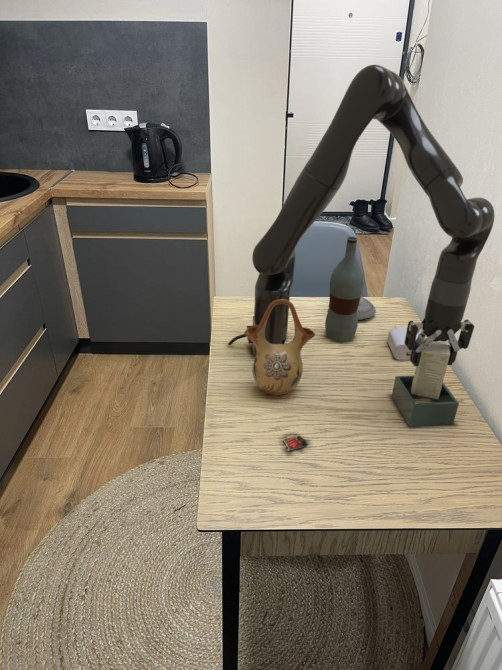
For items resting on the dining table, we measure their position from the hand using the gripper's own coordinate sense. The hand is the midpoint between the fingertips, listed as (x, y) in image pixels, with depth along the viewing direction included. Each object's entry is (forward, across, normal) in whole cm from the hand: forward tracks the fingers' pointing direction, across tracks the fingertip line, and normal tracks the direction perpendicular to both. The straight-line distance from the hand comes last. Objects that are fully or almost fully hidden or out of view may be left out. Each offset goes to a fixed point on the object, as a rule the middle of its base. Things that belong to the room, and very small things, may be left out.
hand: (431, 363), depth 110 cm
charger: (+13, -7, -29) cm, 33 cm away
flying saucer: (+13, +2, -51) cm, 53 cm away
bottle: (+13, +10, -36) cm, 40 cm away
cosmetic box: (+8, 0, 0) cm, 8 cm away
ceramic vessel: (+13, +33, -10) cm, 37 cm away
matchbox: (+13, +32, +9) cm, 35 cm away
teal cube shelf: (+13, 0, 0) cm, 13 cm away
